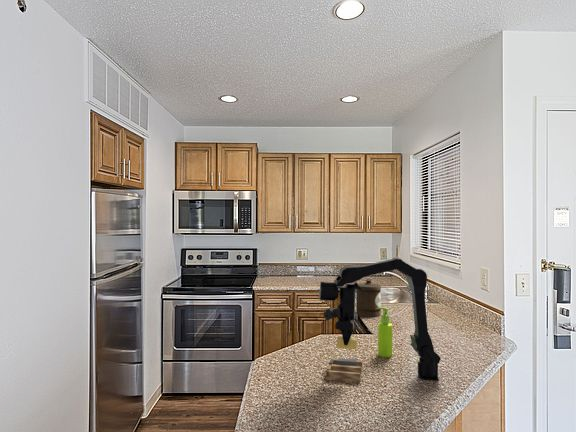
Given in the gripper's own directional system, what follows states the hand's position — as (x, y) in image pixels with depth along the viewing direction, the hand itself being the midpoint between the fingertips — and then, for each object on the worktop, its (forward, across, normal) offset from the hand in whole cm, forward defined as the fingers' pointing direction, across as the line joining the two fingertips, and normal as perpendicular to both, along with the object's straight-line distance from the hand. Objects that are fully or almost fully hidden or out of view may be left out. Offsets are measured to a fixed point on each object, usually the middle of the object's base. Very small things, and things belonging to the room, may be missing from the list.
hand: (346, 343), depth 151 cm
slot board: (+12, -3, -1) cm, 12 cm away
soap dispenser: (+12, -30, +13) cm, 35 cm away
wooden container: (+12, -108, +2) cm, 109 cm away
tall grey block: (+11, -6, 0) cm, 13 cm away
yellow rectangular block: (+1, 0, 0) cm, 1 cm away
